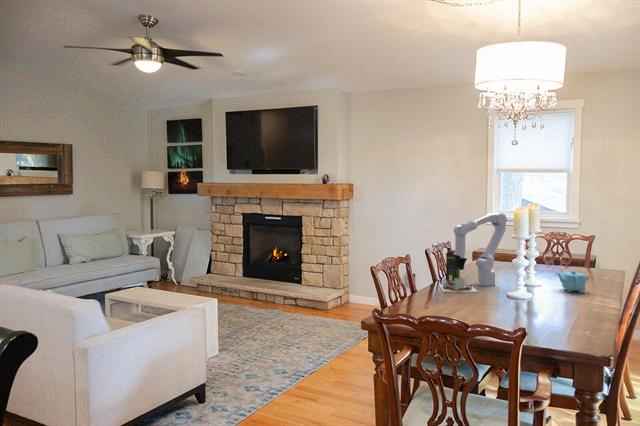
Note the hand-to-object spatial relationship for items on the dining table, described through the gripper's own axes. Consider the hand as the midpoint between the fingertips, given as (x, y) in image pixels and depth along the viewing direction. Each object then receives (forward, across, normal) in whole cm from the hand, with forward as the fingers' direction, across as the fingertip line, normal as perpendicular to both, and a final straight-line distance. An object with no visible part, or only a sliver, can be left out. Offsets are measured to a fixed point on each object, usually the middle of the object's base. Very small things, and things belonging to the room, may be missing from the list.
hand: (460, 268), depth 306 cm
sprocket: (+10, +8, -3) cm, 13 cm away
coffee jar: (+11, -21, -1) cm, 24 cm away
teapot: (+11, +12, +59) cm, 61 cm away
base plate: (+10, +8, -3) cm, 13 cm away
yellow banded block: (+8, +15, -3) cm, 17 cm away
